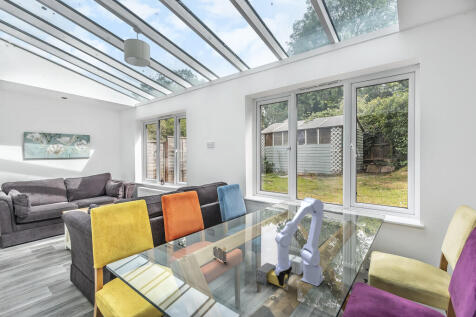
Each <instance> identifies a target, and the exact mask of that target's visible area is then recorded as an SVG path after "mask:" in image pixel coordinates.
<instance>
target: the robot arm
mask: <svg viewBox="0 0 476 317" xmlns="http://www.w3.org/2000/svg"><path fill="white" fill-rule="evenodd" d="M324 206H325V204H324V203H323V201H322V200H321V199H317V198H312V197H309V196H306V197H305V198H304V199H302V201H301V203H300V207H299V209H298V210H297V212H296V213H295V215H294V217H293V219H292V220H289V221H288V222H286V223H285V226H284V227H283V229H282V230H281V231H280V232H278V233H277V234H276V236H275V238H274V240H275V242H276V246H277V263H275V265H276V270H275V275H276V276H277V279H278V282H279V285H280V286H283V285H284V278H285V275H288V281H289V279H290V277H291V276H290V275H291V270H292V267H290V265H292V261H290V260H289V254H290V253H289V252H290V248H289V246H290V245H291V243H292V238H293V236H294V234H296V232H297V231H298V229H299V228H298V225H299V224H300V223H301V221H302V220H303V219H304V218H305V217H306V215H307V214H311V215H312V217H311V222H310V227H309V231H308V237H307V241H306V243H305V244H304V245H303V246H302V249H301V250H300V256H299V257H301V258H302V259H303V272H302V273H303V276H302V278H300V281H302V282H305V283H307V284H309V285H313V286H316V287H319V286H320V284H321V283H322V282H323V280H324V279H323V278H324V277H323V276H324V275H323V267H322V266H321V265H320V263H321V257H320V255H321V252H320V249H319V248H318V245H319V241H320V237H321V236H320V234H321V230H322V225H323V220H324V214H325V213H324ZM280 286H279V287H280Z"/></svg>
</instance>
